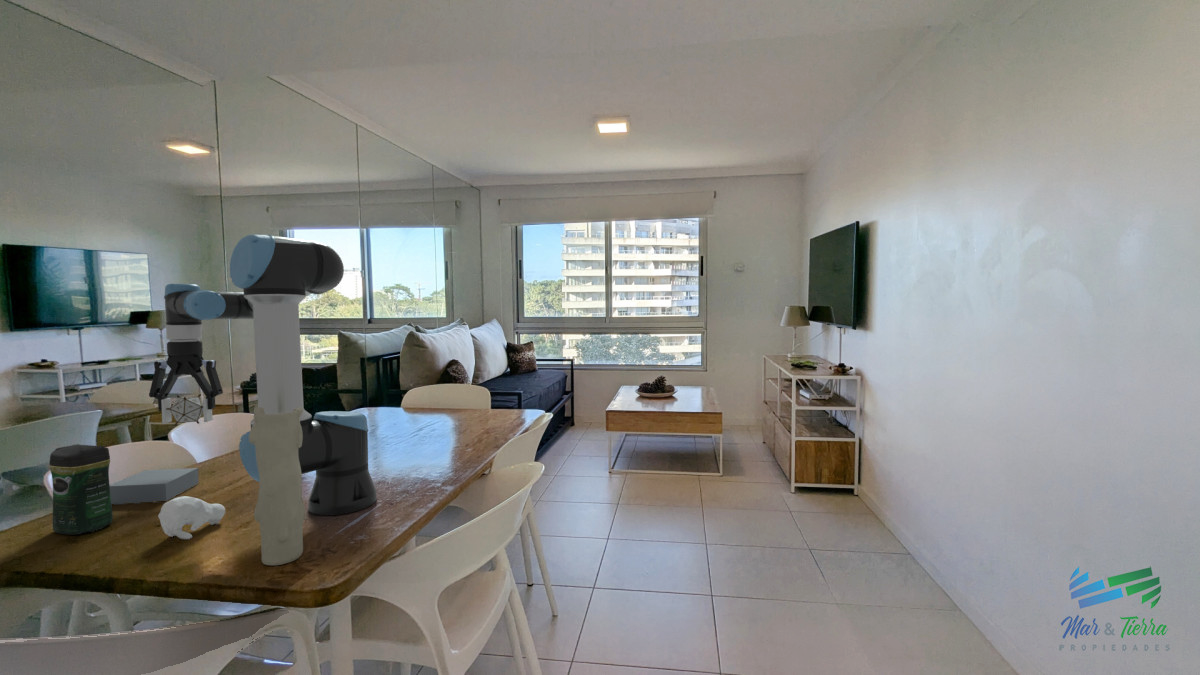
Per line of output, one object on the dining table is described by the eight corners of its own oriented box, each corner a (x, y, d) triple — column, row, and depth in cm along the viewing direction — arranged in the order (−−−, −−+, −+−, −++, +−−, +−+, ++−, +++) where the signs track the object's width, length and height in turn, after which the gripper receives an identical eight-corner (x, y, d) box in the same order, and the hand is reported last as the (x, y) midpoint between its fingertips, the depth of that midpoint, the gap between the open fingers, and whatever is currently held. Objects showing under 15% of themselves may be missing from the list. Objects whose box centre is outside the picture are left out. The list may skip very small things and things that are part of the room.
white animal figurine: (155, 499, 105) (214, 485, 116) (152, 540, 104) (212, 523, 116) (176, 502, 103) (234, 488, 114) (173, 545, 102) (232, 526, 114)
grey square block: (166, 503, 126) (165, 483, 126) (107, 506, 124) (106, 486, 124) (198, 485, 139) (198, 467, 139) (145, 488, 137) (145, 470, 137)
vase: (245, 568, 94) (240, 409, 92) (274, 546, 102) (270, 401, 101) (291, 568, 94) (287, 409, 92) (317, 547, 102) (313, 401, 101)
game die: (190, 438, 137) (183, 413, 131) (162, 426, 137) (154, 401, 132) (218, 416, 144) (213, 392, 139) (192, 405, 145) (185, 381, 139)
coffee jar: (121, 523, 113) (117, 442, 113) (78, 538, 106) (73, 451, 105) (89, 519, 116) (85, 439, 115) (44, 533, 108) (40, 448, 107)
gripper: (236, 339, 143) (239, 417, 144) (148, 340, 139) (151, 420, 140) (222, 341, 135) (225, 423, 137) (128, 341, 131) (131, 426, 132)
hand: (187, 421), depth 138 cm, fingers closed on game die, 9 cm apart
